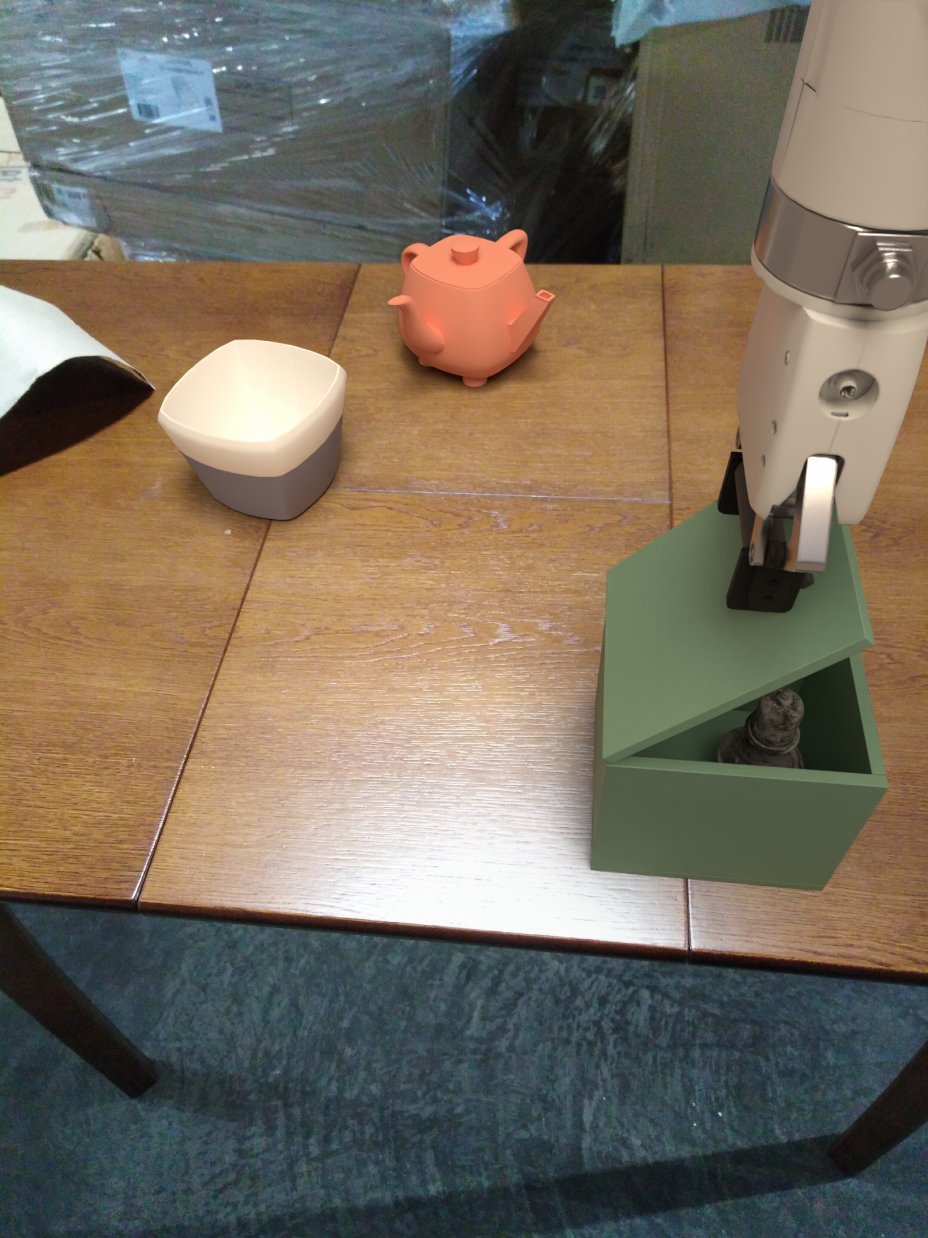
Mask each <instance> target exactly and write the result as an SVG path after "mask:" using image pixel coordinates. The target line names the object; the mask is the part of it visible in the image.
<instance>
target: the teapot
mask: <svg viewBox="0 0 928 1238" xmlns="http://www.w3.org/2000/svg"><path fill="white" fill-rule="evenodd" d="M528 243H529V238H528V234H527V233H526V231H524V230H522V229H519V228H518V229H517V228H516V229H512V230H510V231H508V232H507V233H506V234H504V235H502V236H501V237H500V238H499V239H497V240H496V241H493V240H489V239H487V238H482V237H478V236H474V235H468V234H453V235H449V236H448V237H445V238H443V239H441V240H439V241H437V242H435V243H433V244H432V245H430V246H429V245H427V244H425V243H422V242H415V243H412V244H410V245H408V246H407V247H406V248H405V249H404V250H403V251H402V253H401V257H400V263H401V264H400V265H401V269H402V272H403V275H404V281H403V284H402V288H401V292H400V295H397V296H395V297H392V298H390V299H389V300H388V301H387V305H389V306H392V307H396V308H398V311H397V313H398V314H397V323H398V333H399V335H400V338H401V339H402V341H403V342H404V344H405V345H406V347H407V348H408V349H409V350H410V351H411V352H412V353H413V355H415V356H416V357H417V358H418V363H419V364H420V366H421V365H422V366H424V367H434V368H435V369H438V370H441V371H443V372H446V373H449V374H452V375H456V376H461V377H462V382H463V384H464V385H466V386H467V387H470V388H477V387H482V386H483V385H485V384H486V383H487V382H488V378H489V377H492V376H494V375H495V374H498V373H500V372H501V371H502V370H504V369H505V368H507V367H509V366H510V365H511V364H512V363H514V362H515V361H516V360H518V359H519V358H520V357H521V356H522V355H523V354H524V353H525V352H526V351H527V350H528V349H529V348H530V346H531V345H532V344H533V342H534V341H535V339H536V338H537V335H538V334H539V332H540V329H541V325H542V322H543V320H545V317H546V315H547V314H548V312H549V311H550V308H551V306H552V305H553V303H554V302H555V300H556V297H557V296H556V294H553V293H552V292H549V291H548V290H545V289H540V290H539V291H538V292H537V291H536V289H535V285H534V283H533V280H532V278H531V275H530V273H529V271H528V269H527V267H526V264H525V263H524V261H525V258H526V254H527V249H528Z"/></svg>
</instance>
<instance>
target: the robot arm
mask: <svg viewBox="0 0 928 1238" xmlns="http://www.w3.org/2000/svg"><path fill="white" fill-rule="evenodd" d="M754 234H755V235H754V238H753V241H752V245H751V249H750V256H749V257H750V259H749V260H750V265H751V267H752V269H753V271H754V273H755V275H756V277H757V278H758V279H760V281H762V283H763V284H762V287H761V291H760V293H759V297H758V301H757V304H756V306H755V310H754V314H753V317H752V322H751V325H750V328H749V332H748V336H747V339H746V342H745V347H744V351H743V355H742V360H741V365H740V370H739V375H738V381H737V390H736V391H737V393H736V404H737V405H736V406H737V408H736V409H737V418H738V427H737V429H736V433H735V441H734V443H735V446H734V447H735V449H736V450H741V451H735V450H734V451H730V455H729V458H728V462H727V465H726V469H725V473H724V476H723V479H722V484H721V487H720V491H719V494H718V498H717V499H718V501H717V505H718V511H719V512H720V513H722V514H726V515H739V509H738V500H737V491H736V482H735V470H736V468H737V466H738V465H739V464H740V463H741V462H742V461H743V462H744V470H745V477H746V485H747V491H748V497H749V502H750V506H751V508H752V509H753V510H754V511H755V513H756V517H755V522H754V528H753V533H752V538H751V543H750V547H742V548H741V551H740V555H739V558H738V561H737V564H736V567H735V570H734V573H733V576H732V579H731V583H730V586H729V589H728V592H727V595H726V604H727V607H728V608H729V609H733V610H747V611H758V612H774V613H786V612H788V611H790V610H791V609H792V607H793V605H794V603H795V600H796V598H797V595H798V593H799V591H800V588H801V586H802V583H803V581H804V579H805V576H806V574H807V573H818V574H822V573H823V572H824V571H825V568H826V563H827V555H828V546H829V536H830V527H831V518H832V509H833V502H834V507H835V511H836V516H837V521H838V525H849V526H857V524H859V523H860V522H861V521H862V520H863V519H864V518H865V516H866V515H867V513H868V511H869V508H870V507H871V504H872V502H873V499H874V497H875V494H876V492H877V490H878V487H879V485H880V482H881V479H882V477H883V475H884V472H885V469H886V467H887V465H888V462H889V459H890V457H891V455H892V453H893V449H894V446H895V444H896V441H897V439H898V436H899V433H900V430H901V428H902V424H903V422H904V419H905V416H906V414H907V411H908V407H909V404H910V402H911V398H912V395H913V393H914V389H915V386H916V383H917V379H918V376H919V373H920V370H921V369H920V368H921V365H922V362H923V358H924V356H925V355H924V354H925V350H926V346H927V342H928V0H811V3H810V7H809V12H808V16H807V20H806V24H805V28H804V33H803V36H802V40H801V44H800V47H799V53H798V57H797V60H796V64H795V69H794V73H793V78H792V81H791V85H790V90H789V93H788V98H787V102H786V106H785V110H784V114H783V117H782V122H781V127H780V131H779V136H778V138H777V143H776V147H775V151H774V155H773V159H772V164H771V168H770V173H769V176H768V181H767V184H766V189H765V193H764V197H763V201H762V205H761V210H760V213H759V217H758V222H757V225H756V230H755V233H754ZM795 489H797V490H796V498H788V497H789V496H790V495H791V494H792V493H793V492H794V491H795ZM773 518H789V519H793V528H792V535H791V539H790V541H789V542H778V541H769V538H770V533H771V528H772V523H773Z"/></svg>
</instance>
